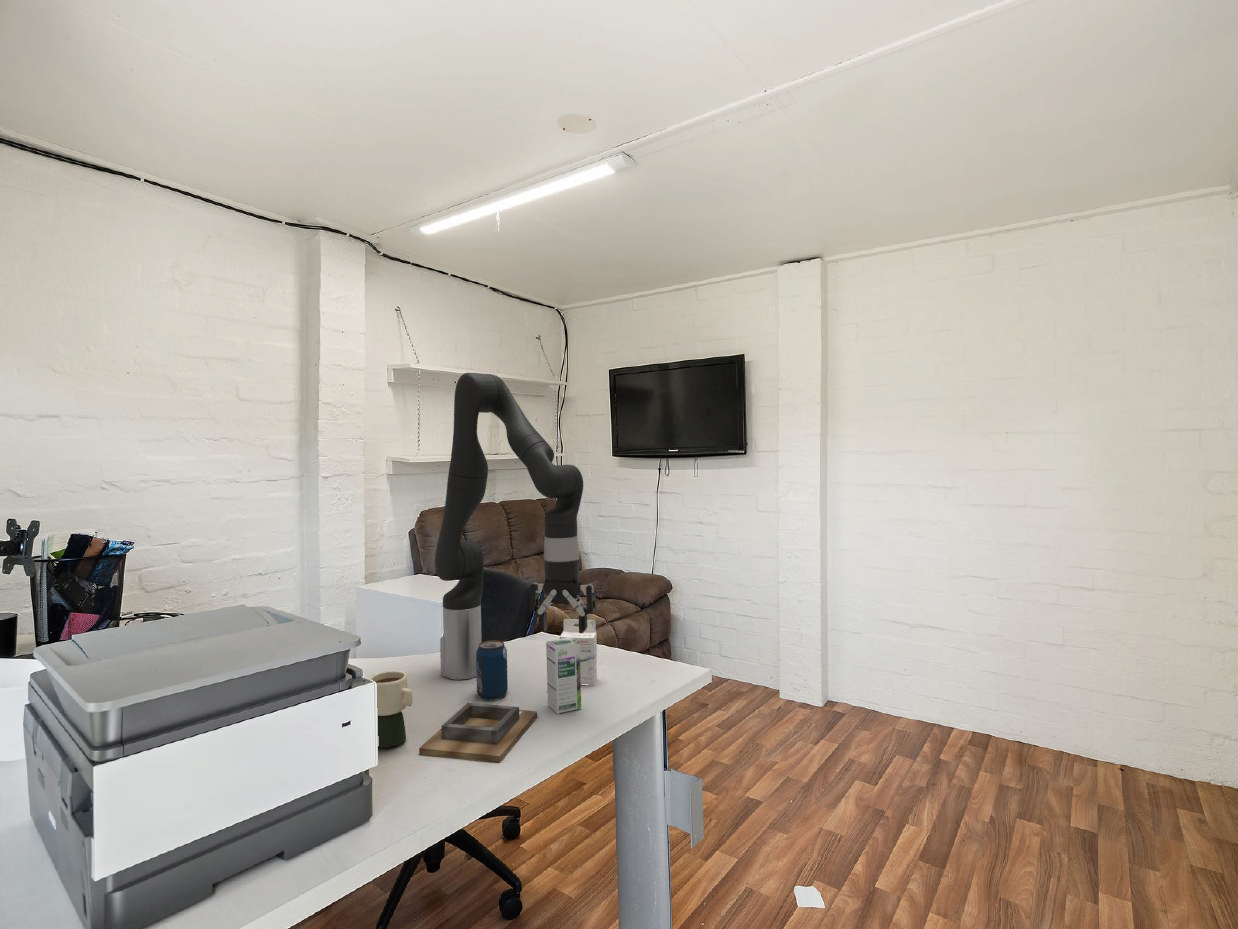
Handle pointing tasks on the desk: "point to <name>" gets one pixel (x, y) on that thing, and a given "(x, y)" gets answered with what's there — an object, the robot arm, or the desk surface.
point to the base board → (480, 732)
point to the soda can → (491, 670)
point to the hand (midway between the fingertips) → (563, 631)
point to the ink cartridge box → (584, 648)
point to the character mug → (391, 706)
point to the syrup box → (563, 675)
